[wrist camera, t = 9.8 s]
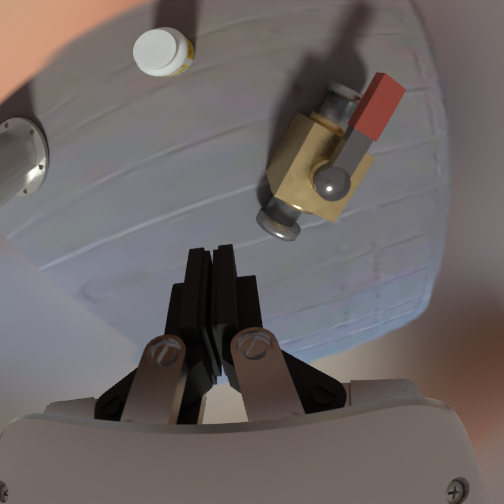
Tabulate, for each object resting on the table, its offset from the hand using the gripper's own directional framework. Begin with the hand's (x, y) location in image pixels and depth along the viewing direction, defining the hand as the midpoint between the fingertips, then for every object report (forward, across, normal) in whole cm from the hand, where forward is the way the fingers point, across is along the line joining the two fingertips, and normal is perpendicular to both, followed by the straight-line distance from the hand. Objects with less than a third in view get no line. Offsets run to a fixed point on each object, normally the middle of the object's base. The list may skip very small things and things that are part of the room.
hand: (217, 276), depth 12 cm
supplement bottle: (+27, +5, -11) cm, 30 cm away
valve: (+27, -10, +4) cm, 29 cm away
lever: (+18, -13, -1) cm, 22 cm away
